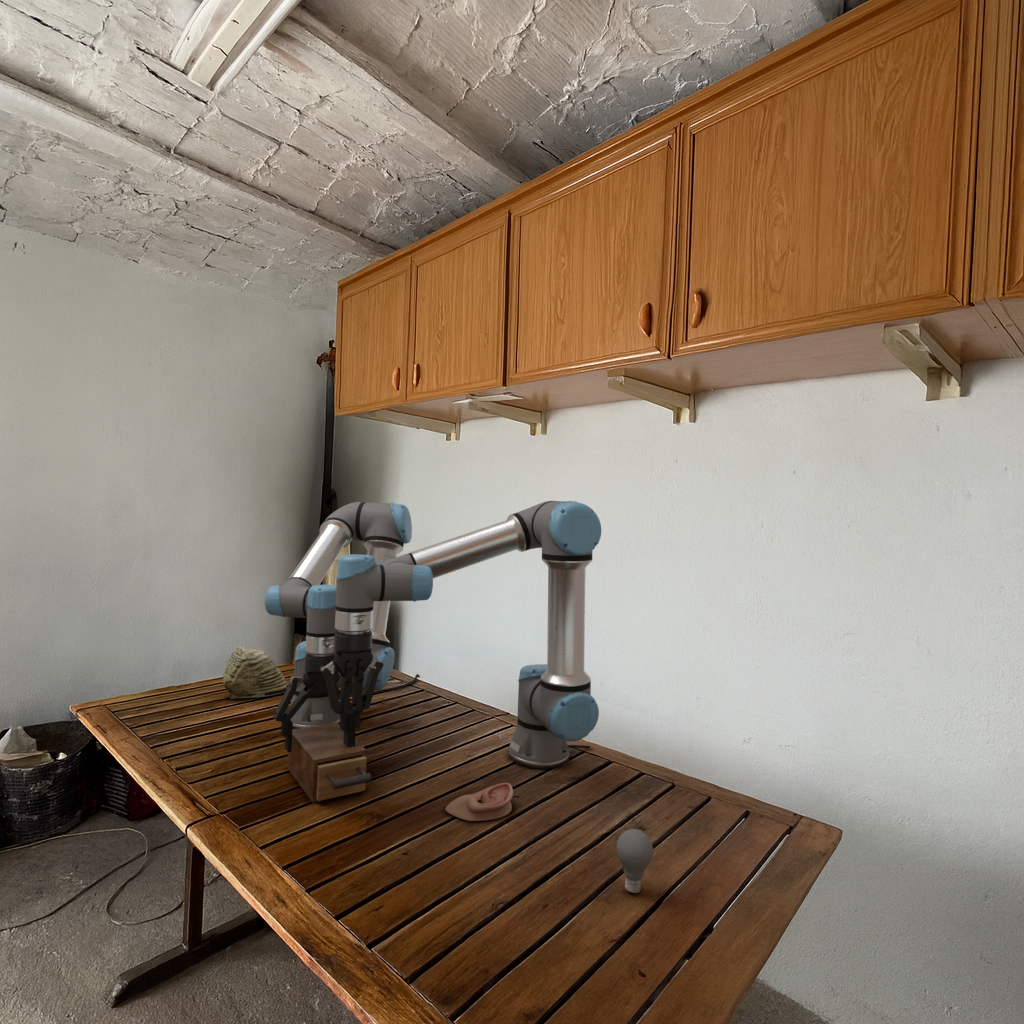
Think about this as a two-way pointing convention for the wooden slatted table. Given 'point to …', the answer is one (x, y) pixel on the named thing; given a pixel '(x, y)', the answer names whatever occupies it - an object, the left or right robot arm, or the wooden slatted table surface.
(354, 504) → the left robot arm
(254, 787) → the wooden slatted table surface
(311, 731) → the cabinet
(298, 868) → the wooden slatted table surface
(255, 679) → the fossil
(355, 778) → the drawer
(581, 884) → the wooden slatted table surface
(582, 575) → the right robot arm
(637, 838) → the light bulb
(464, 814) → the anatomical model
